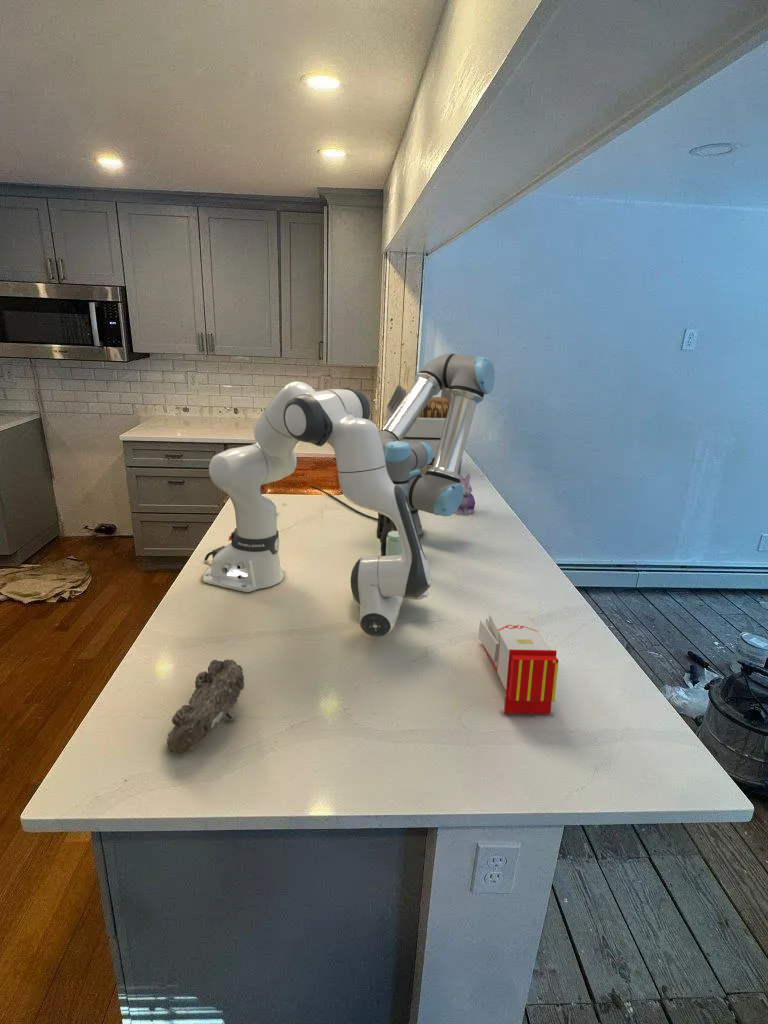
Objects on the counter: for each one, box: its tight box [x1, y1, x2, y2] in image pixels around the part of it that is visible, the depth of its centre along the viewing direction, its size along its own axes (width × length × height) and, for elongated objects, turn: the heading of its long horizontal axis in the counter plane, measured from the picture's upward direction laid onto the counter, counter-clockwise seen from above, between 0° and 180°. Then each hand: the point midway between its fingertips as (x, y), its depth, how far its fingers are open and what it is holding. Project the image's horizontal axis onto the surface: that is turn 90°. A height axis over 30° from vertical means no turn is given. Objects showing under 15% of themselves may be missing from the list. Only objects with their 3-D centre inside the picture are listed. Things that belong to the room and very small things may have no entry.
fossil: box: [166, 658, 245, 754], centre depth 106 cm, size 22×10×15 cm
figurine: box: [455, 473, 476, 515], centre depth 223 cm, size 9×10×15 cm
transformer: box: [385, 384, 463, 475], centre depth 268 cm, size 34×33×41 cm
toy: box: [477, 613, 560, 715], centre depth 124 cm, size 12×13×30 cm
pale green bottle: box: [386, 531, 404, 556], centre depth 155 cm, size 5×5×18 cm
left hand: (394, 570), depth 157 cm, fingers closed on pale green bottle, 5 cm apart
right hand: (391, 565), depth 175 cm, fingers closed on lid, 6 cm apart
